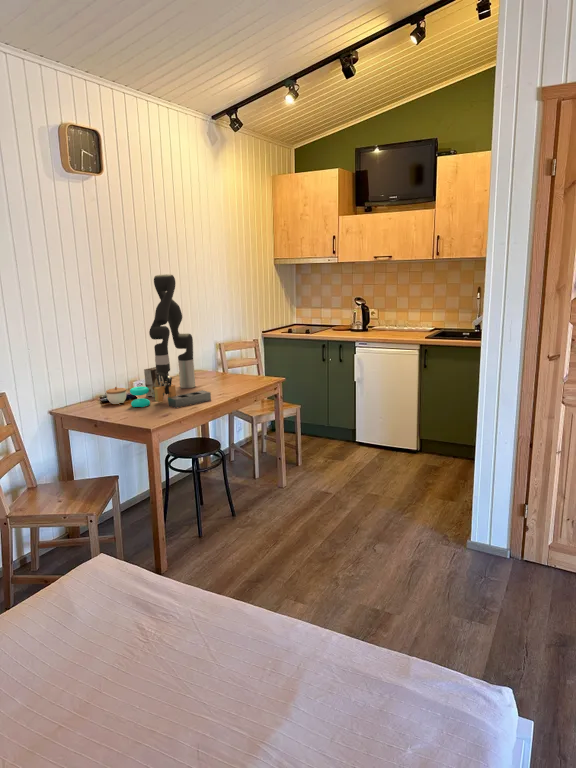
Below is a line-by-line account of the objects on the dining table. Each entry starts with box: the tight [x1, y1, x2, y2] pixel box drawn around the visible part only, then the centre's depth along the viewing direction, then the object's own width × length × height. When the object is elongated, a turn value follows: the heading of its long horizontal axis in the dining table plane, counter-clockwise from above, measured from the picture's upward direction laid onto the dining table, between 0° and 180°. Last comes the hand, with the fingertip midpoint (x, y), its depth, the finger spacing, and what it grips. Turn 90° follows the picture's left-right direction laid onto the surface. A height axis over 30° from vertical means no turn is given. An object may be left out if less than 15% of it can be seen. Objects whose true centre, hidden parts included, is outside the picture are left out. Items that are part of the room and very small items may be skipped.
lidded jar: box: [105, 386, 127, 405], centre depth 299 cm, size 11×11×9 cm
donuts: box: [129, 385, 151, 408], centre depth 291 cm, size 10×10×10 cm
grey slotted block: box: [167, 389, 212, 409], centre depth 294 cm, size 8×22×4 cm, turn 132°
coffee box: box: [143, 366, 166, 398], centre depth 315 cm, size 9×6×16 cm
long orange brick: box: [154, 383, 177, 403], centre depth 297 cm, size 4×11×8 cm, turn 132°
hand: (165, 393), depth 297 cm, fingers closed on long orange brick, 3 cm apart
